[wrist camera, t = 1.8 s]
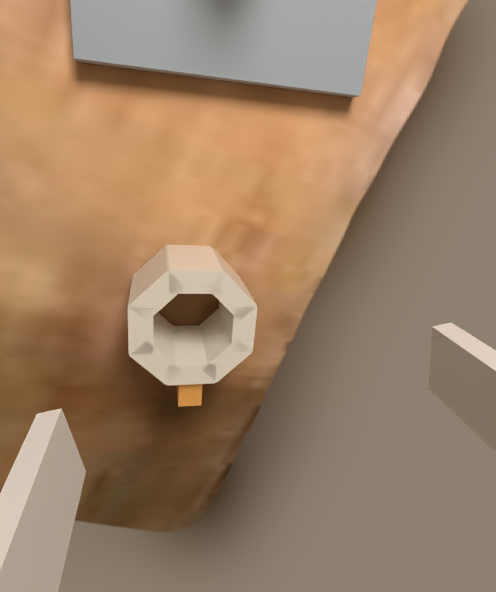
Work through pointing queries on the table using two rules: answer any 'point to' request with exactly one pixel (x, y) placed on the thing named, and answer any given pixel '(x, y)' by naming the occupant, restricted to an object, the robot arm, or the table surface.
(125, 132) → the table surface
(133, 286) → the beige octagonal hollow block
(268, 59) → the shaft plate
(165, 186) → the table surface
